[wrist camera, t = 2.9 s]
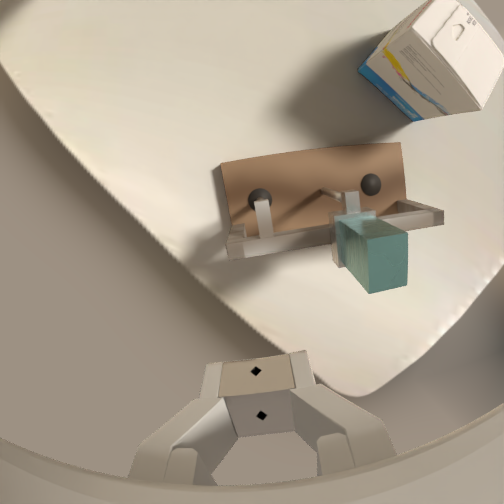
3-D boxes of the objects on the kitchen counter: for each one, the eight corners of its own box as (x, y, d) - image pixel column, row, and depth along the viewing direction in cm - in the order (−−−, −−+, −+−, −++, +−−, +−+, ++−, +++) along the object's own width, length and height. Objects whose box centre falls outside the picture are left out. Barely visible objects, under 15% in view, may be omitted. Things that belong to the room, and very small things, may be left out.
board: (221, 163, 27) (209, 162, 19) (395, 142, 26) (438, 139, 18) (236, 243, 29) (231, 271, 21) (402, 216, 28) (443, 234, 20)
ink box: (412, 124, 25) (484, 114, 14) (355, 70, 24) (408, 27, 12) (443, 78, 23) (509, 59, 12) (391, 27, 22) (444, -15, 10)
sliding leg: (307, 185, 26) (359, 206, 13) (338, 181, 26) (411, 199, 13) (314, 237, 27) (363, 300, 14) (344, 233, 27) (411, 289, 14)
